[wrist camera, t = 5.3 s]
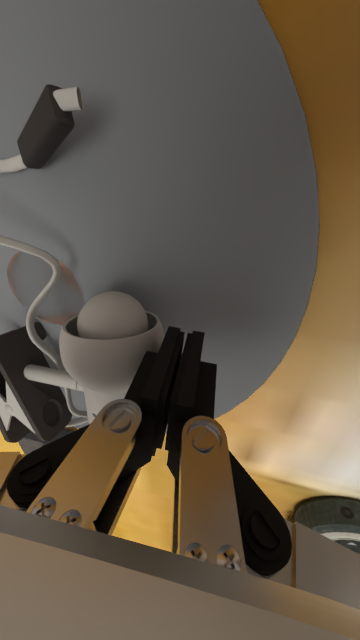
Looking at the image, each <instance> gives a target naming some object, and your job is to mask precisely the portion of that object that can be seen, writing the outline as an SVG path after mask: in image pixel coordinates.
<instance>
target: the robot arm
mask: <svg viewBox="0 0 360 640" xmlns="http://www.w3.org/2000/svg"><path fill="white" fill-rule="evenodd" d="M184 334H185V332H181V328H177V327H171V326H169V327H168V329H167V332H166V334H165V337H164V339H163V342H162V344H161V347H160V349H159V352H158V353H156V352H150V351H147V352H146V353H145V355H144V357H143V359H142V361H141V363H140V366H139V368H138V370H137V372H136V374H135V376H134V378H133V380H132V383H131V385H130V387H129V389H128V391H127V393H126V395H125V398H124V399H117V400H114V401H111V402H110V403H108V404H106V405H105V406H104V407H103V408H102V409H101V410H100V412H99V413H98V415H97V416H96V417H95V419H94V420H93V421H92V423H91V424H88V425H86V426H84V427H82V428H80V429H78V430H76V431H74V432H72V433H70V434H67V435H65V436H63V437H61V438H59V439H57V440H55V441H53V442H51V443H49V444H47V445H44V446H42V447H40V448H38V449H36V450H34V451H32V452H31V453H29V454H23V455H21V454H20V452H0V640H360V555H359V554H358V553H356V552H354V551H352V550H350V549H348V548H346V547H344V546H342V545H340V544H338V543H337V542H335V541H333V540H331V539H329V538H327V537H325V536H323V535H321V534H319V533H317V532H316V531H314V530H312V529H310V528H308V527H306V526H304V525H302V524H300V523H298V522H295V523H292V522H290V521H288V520H287V519H285V518H283V517H282V515H281V514H280V512H279V511H278V510H277V509H276V507H275V506H274V505H273V504H272V502H271V501H270V500H269V499H268V498H267V496H266V495H265V494H264V493H263V491H262V490H261V489H260V488H259V487H258V485H257V484H256V483H255V482H254V480H253V479H252V478H251V477H250V475H249V474H248V473H247V472H246V471H245V469H244V468H243V467H242V466H241V464H240V463H239V462H238V461H237V460H236V458H235V457H234V456H233V455H232V453H231V452H230V451H229V450H228V443H227V437H226V434H225V431H224V429H223V428H222V426H221V425H220V424H219V423H218V422H217V421H216V420H214V407H215V390H216V373H217V364H213V363H208V362H203V361H201V354H202V347H203V340H204V334H205V332H199V331H194V330H193V332H192V333H188V334H187V338H186V342H185V345H184V349H183V342H184ZM182 350H183V353H182ZM167 424H168V426H167ZM166 428H167V436H166V445H165V450H168V451H169V453H168V461H167V466H168V468H169V469H170V471H171V473H172V474H173V476H174V494H173V518H172V541H171V552H168V551H165V550H161V549H158V548H154V547H150V546H147V545H143V544H140V543H136V542H133V541H129V540H125V539H122V538H118V537H115V536H111V535H112V533H113V531H114V529H115V526H116V524H117V522H118V520H119V517H120V515H121V513H122V511H123V508H124V506H125V504H126V502H127V499H128V497H129V495H130V493H131V491H132V488H133V486H134V484H135V482H136V479H137V477H138V475H139V473H140V470H141V467H142V466H144V465H145V464H147V463H148V462H150V461H151V457H152V456H155V452H156V448H160V449H161V448H162V445H163V441H164V436H165V432H166Z"/></svg>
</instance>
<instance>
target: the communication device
mask: <svg viewBox="0 0 360 640" xmlns="http://www.w3.org/2000/svg"><path fill="white" fill-rule="evenodd" d="M295 522H298V523H300V524H302V525H304V526H306V527H308V528H310V529H312V530H314V531H316V532H317V533H319V534H321V535H323V536H325V537H327V538H329V539H331V540H333V541H335V542H337V543H338V544H340V545H342V546H344V547H346V548H348V549H350V550H352V551H354V552H356V553H358V554H359V555H360V501H358V500H354V499H349V498H342V497H319V498H314V499H310V500H307V501H305V502H303V503H302V504H301V505H300V506H299V507H298V509H297V511H296V513H295V515H294V523H295Z"/></svg>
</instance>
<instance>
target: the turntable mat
mask: <svg viewBox="0 0 360 640" xmlns="http://www.w3.org/2000/svg"><path fill="white" fill-rule="evenodd" d="M47 84H50V85H55V86H57V87H60V88H62V89H65V88H72V87H79V88H80V91H81V94H82V100H83V110H77V111H72V114H73V119H74V123H75V125H74V128H73V129H72V131H71V132H70V133H69V134H68V136H67V137H66V138H65V139H64V141H63V142H62V143H61V144H60V146H59V147H58V148H57V149H56V151H55V152H54V153H53V154H52V156H51V157H50V158H49V159H48V161H47V162H46V163H45V164H44V166H43V167H42V168H41V169H32V168H25V169H22V170H19V171H16V172H8V173H0V235H1V236H5V237H8V238H11V239H14V240H18V241H21V242H24V243H27V244H30V245H32V246H34V247H37V248H39V249H42V250H44V251H46V252H49V253H50V254H51V255H52V256H53V257H54V258H56V259H57V260H58V261H59V263H60V267H61V274H60V277H59V280H58V281H57V283H56V284H55V286H54V288H53V289H52V290H51V291H50V293H49V294H48V295H47V297H46V298H45V299H44V301H43V302H42V303H41V305H40V306H39V308H38V310H37V312H36V314H35V318H34V323H35V322H39V323H41V324H42V326H43V328H44V330H45V333H46V338H45V339H44V340H43V341H44V342H45V343H46V344H47V345H48V346H50V347H51V348H52V349H53V350H54V351H55V352H56V353H57V355H58V356H59V358H60V359H61V356H60V348H59V337H60V331H61V328H62V325H63V324H64V323H65V322H66V320H68V319H70V318H71V317H73V316H75V315H78V314H79V313H80V311H81V310H82V308H83V307H84V305H85V304H86V303H87V302H88V301H89V300H90V299H91V298H93V297H94V296H96V295H98V294H101V293H104V292H109V291H116V292H122V293H125V294H128V295H130V296H132V297H133V298H135V299H136V300H137V301H138V302H139V303H140V304H141V305H142V306H143V308H144V310H146V311H149V312H152V313H154V314H155V315H157V316H158V317H159V319H160V322H161V324H162V327H163V331H164V334H166V332H167V329H168V327H169V326H171V327H177V328H181V332H185V334H184V342H183V349H184V345H185V342H186V338H187V334H188V333H192V332H193V330H194V331H199V332H205V334H204V340H203V347H202V354H201V361H203V362H208V363H213V364H217V373H216V390H215V407H214V419H215V418H217V417H219V416H221V415H223V414H225V413H227V412H228V411H230V410H231V409H233V408H234V407H236V406H237V405H239V404H240V403H241V402H243V401H244V400H246V399H247V398H248V397H249V396H250V395H251V394H253V393H254V392H255V391H256V390H257V389H258V388H259V387H260V386H261V385H262V384H263V383H264V382H265V381H266V380H267V379H268V377H269V376H270V375H271V374H272V372H273V371H274V370H275V369H276V367H277V366H278V365H279V364H280V362H281V361H282V359H283V357H284V356H285V354H286V352H287V350H288V349H289V347H290V345H291V344H292V342H293V340H294V338H295V336H296V334H297V331H298V329H299V326H300V324H301V321H302V319H303V316H304V314H305V311H306V309H307V306H308V301H309V297H310V293H311V289H312V284H313V280H314V276H315V272H316V263H317V251H318V240H319V228H320V223H319V205H318V187H317V173H316V168H315V163H314V158H313V153H312V147H311V142H310V137H309V132H308V127H307V122H306V117H305V113H304V110H303V107H302V105H301V102H300V99H299V96H298V93H297V90H296V87H295V84H294V81H293V79H292V76H291V73H290V70H289V67H288V64H287V61H286V58H285V55H284V52H283V50H282V48H281V46H280V44H279V42H278V40H277V38H276V36H275V34H274V32H273V30H272V28H271V26H270V24H269V22H268V20H267V18H266V16H265V14H264V12H263V10H262V8H261V6H260V4H259V3H258V1H257V0H0V160H5V159H8V158H11V157H14V156H17V155H19V154H20V151H19V147H18V144H17V140H18V138H19V136H20V134H21V132H22V130H23V128H24V126H25V124H26V122H27V120H28V118H29V117H30V115H31V113H32V111H33V109H34V107H35V105H36V103H37V101H38V99H39V97H40V95H41V93H42V91H43V89H44V87H45V86H46V85H47ZM52 275H53V269H52V266H51V265H50V264H49V263H47V262H46V261H44V260H43V259H42V258H40V257H37V256H34V255H31V254H29V253H26V252H23V251H20V250H17V249H14V248H10V247H7V246H3V245H0V335H1V334H4V333H6V332H9V331H12V330H16V329H18V328H21V327H24V326H26V317H27V313H28V310H29V308H30V306H31V304H32V303H33V301H34V300H35V299H36V297H37V296H38V295H39V294H40V292H41V291H42V290H43V289H44V288H45V286H46V285H47V284H48V282H49V281H50V280H51V278H52ZM42 352H43V351H42ZM182 353H183V350H182ZM43 354H44V356H45V358H46V360H47V362H48V364H49V366H50V368H53V369H58V368H57V366H56V365H55V363H54V361H53V360H52V359H51V358H50V357H49V356H48V355H47V354H45V353H44V352H43ZM61 361H62V359H61ZM64 368H65V367H64ZM65 370H66V369H65ZM60 388H61V390H62V392H63V394H64V396H65V398H66V395H65V389H64V387H60ZM70 390H71V397H72V402H73V405H74V407H75V408H76V409H78V410H80V411H87V409H86V403H85V397H84V392H82V391H78V390H74V389H70ZM77 418H80V417H78V416H75V415H73V414H72V418H71V420H72V419H77ZM88 424H89V422H86V423H83V424H80V425H76V426H72V427H76V428H79V429H80V428H82V427H84V426H86V425H88ZM167 426H168V424H167ZM165 433H167V428H166V432H165Z"/></svg>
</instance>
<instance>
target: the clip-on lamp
mask: <svg viewBox="0 0 360 640" xmlns="http://www.w3.org/2000/svg"><path fill="white" fill-rule="evenodd" d="M77 110H83V100H82V94H81V91H80V88H79V87H72V88H65V89H62V88H60V87H57V86H55V85H50V84H47V85H46V86H45V87H44V89H43V91H42V93H41V95H40V97H39V99H38V101H37V103H36V105H35V107H34V109H33V111H32V113H31V115H30V117H29V118H28V120H27V122H26V124H25V126H24V128H23V130H22V132H21V134H20V136H19V138H18V140H17V144H18V147H19V151H20V154H19V155H17V156H14V157H11V158H8V159H5V160H0V173H8V172H16V171H19V170H22V169H25V168H32V169H41V168H42V167H43V166H44V164H45V163H46V162H47V161H48V159H49V158H50V157H51V156H52V154H53V153H54V152H55V151H56V149H57V148H58V147H59V146H60V144H61V143H62V142H63V141H64V139H65V138H66V137H67V136H68V134H69V133H70V132H71V131H72V129H73V128H74V125H75V123H74V119H73V114H72V111H77ZM0 245H3V246H7V247H10V248H14V249H17V250H20V251H23V252H26V253H29V254H31V255H34V256H37V257H40V258H42V259H43V260H44V261H46V262H47V263H49V264H50V265H51V266H52V269H53V275H52V278H51V280H50V281H49V282H48V284H47V285H46V286H45V288H44V289H43V290H42V291H41V292H40V294H39V295H38V296H37V297H36V299H35V300H34V301H33V303H32V304H31V306H30V308H29V310H28V313H27V317H26V326H24V327H21V328H18V329H16V330H12V331H9V332H6V333H4V334H1V335H0V430H1V432H2V435H3V437H4V439H5V440H6V441H7V442H12V443H13V442H18V441H20V440H21V439H22V438H23V437H25V436H26V435H27V434H28V433H29V432H30V431H32V432H33V433H35V434H36V436H37V437H38V439H40V440H41V441H51V440H52V439H54V438H55V437H56V436H57V435H58V434H59V433H60V432H61V431H62V430H63V429H64V428H65V427H71V426H76V425H80V424H83V423H86V422H89V424H91V423H92V421H93V420H94V419H95V417H96V416H97V415H98V413H99V412H100V410H101V409H102V408H103V407H104V406H105V405H106V404H108V403H110V402H111V401H114V400H117V399H124V398H125V395H126V393H127V391H128V389H129V387H130V385H131V383H132V380H133V378H134V376H135V374H136V372H137V370H138V368H139V366H140V363H141V361H142V359H143V357H144V355H145V353H146V352H147V351H150V352H156V353H158V352H159V349H160V347H161V344H162V342H163V339H164V337H165V334H164V331H163V327H162V324H161V322H160V319H159V317H158V316H157V315H155V314H154V313H152V312H149V311H146V310H144V308H143V306H142V305H141V304H140V303H139V302H138V301H137V300H136V299H135V298H133V297H132V296H130V295H128V294H125V293H122V292H116V291H109V292H104V293H101V294H98V295H96V296H94V297H93V298H91V299H90V300H89V301H88V302H87V303H86V304H85V305H84V307H83V308H82V310H81V311H80V313H79V314H78V315H75V316H73V317H71V318H70V319H68V320H66V322H65V323H64V324H63V325H62V328H61V331H60V337H59V348H60V356H61V359H62V361H61V359H60V358H59V356H58V355H57V353H56V352H55V351H54V350H53V349H52V348H51V347H50V346H48V345H47V344H46V343H45V342H44V341H43V340H44V339H45V338H46V333H45V330H44V328H43V326H42V324H41V323H39V322H35V323H34V318H35V314H36V312H37V310H38V308H39V306H40V305H41V303H42V302H43V301H44V299H45V298H46V297H47V295H48V294H49V293H50V291H51V290H52V289H53V288H54V286H55V284H56V283H57V281H58V280H59V277H60V274H61V267H60V263H59V261H58V260H57V259H56V258H54V257H53V256H52V255H51V254H50V253H49V252H46V251H44V250H42V249H39V248H37V247H34V246H32V245H30V244H27V243H24V242H21V241H18V240H14V239H11V238H8V237H5V236H1V235H0ZM42 351H43V352H44V353H45V354H47V355H48V356H49V357H50V358H51V359H52V360H53V361H54V363H55V365H56V366H57V368H58V369H53V368H50V366H49V364H48V362H47V360H46V358H45V356H44V354H43V352H42ZM64 367H65V368H64ZM65 369H66V370H65ZM60 387H64V389H65V395H66V398H65V396H64V394H63V392H62V390H61V388H60ZM70 389H74V390H78V391H82V392H84V397H85V403H86V409H87V411H80V410H78V409H76V408H75V407H74V405H73V402H72V397H71V390H70ZM72 414H73V415H75V416H78V417H80V418H77V419H72V420H71V418H72Z"/></svg>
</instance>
